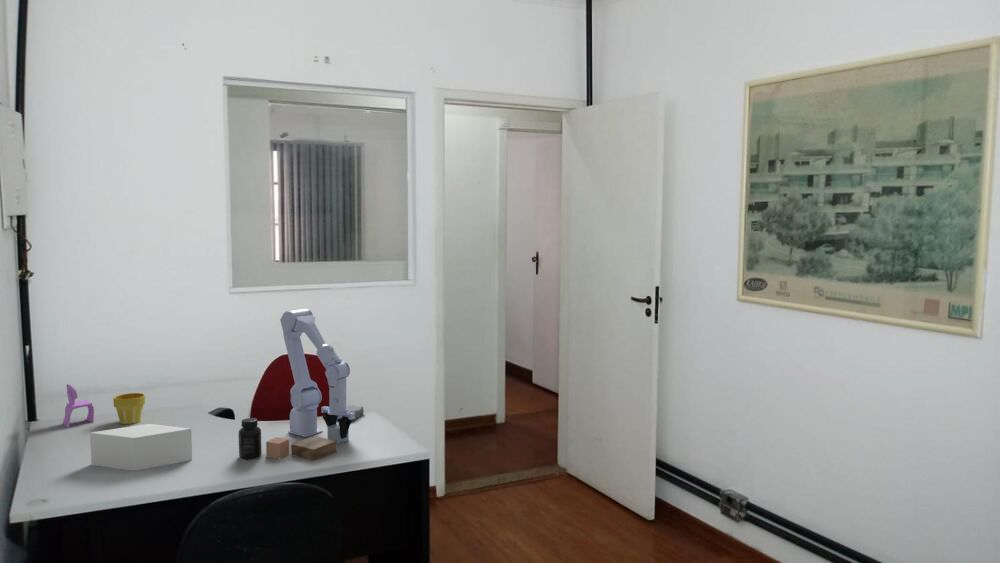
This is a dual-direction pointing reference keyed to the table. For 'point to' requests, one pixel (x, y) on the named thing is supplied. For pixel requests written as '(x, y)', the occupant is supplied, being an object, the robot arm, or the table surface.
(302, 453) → the walnut slab
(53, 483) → the table surface
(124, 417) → the plant pot
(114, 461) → the white foam block
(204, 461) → the table surface
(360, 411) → the stone block
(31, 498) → the table surface
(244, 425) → the supplement bottle
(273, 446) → the terracotta cube
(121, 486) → the table surface
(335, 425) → the blue-grey cube
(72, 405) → the toy chair
